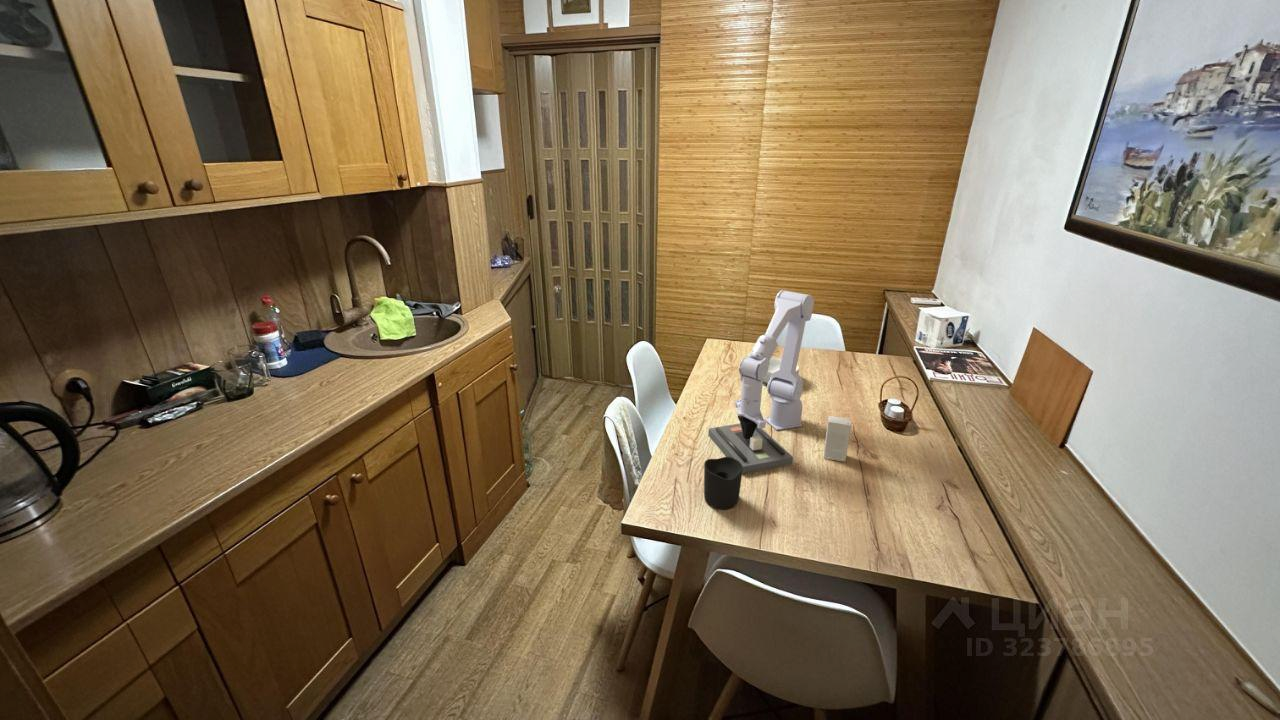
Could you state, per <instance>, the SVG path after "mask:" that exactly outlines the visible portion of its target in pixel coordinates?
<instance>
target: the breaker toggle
mask: <svg viewBox="0 0 1280 720" xmlns="http://www.w3.org/2000/svg"><path fill="white" fill-rule="evenodd" d="M762 441H763V439H762V438H761V437H760V436H756V437H750V448H751V449H752V450H759V449H762Z"/></svg>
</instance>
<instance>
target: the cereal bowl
mask: <svg viewBox="0 0 1280 720" xmlns="http://www.w3.org/2000/svg"><path fill="white" fill-rule="evenodd" d="M781 359H782V358H779V357H777V358H776V357H771V359H770V361H769V362H770V365H769V368H768V372H767V375H766V376H765V378H764V379H763V383H765V384H767V385H768V382H769V380H770V377H771V374H772V373H773V372H774V371H776V370H779V369H780V364H781ZM796 372H797V373H798V374H799V372H800V366H799V365H798V364H797V367H796Z"/></svg>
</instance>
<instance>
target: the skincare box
mask: <svg viewBox="0 0 1280 720" xmlns="http://www.w3.org/2000/svg"><path fill="white" fill-rule="evenodd" d="M851 428H852V423H851V418H847V417H840V416H833V415H832V416H831V415H828V418H827V425H826V434H825V440H824V441H825V442H824V447H823V459H827V460H832V461H840V462H846V460H847V454H848V448H849V442H850V436H851V430H852V429H851Z"/></svg>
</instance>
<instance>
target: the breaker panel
mask: <svg viewBox="0 0 1280 720" xmlns="http://www.w3.org/2000/svg"><path fill="white" fill-rule="evenodd" d="M756 436H760V437H761V438H762V439H763V441H762V449H759V450H752V449H751V448H750V439H747V440H746V439H745V438H744V437H743V432H742V427H741V424H740V423H735V424H729V425H723V426H717V427H710V428H708V437H709V438H710V439H711V441H712V442H713V443H714V444H715V446H716V447H717V448H718V449H719V450H720V451H721V453H723V454H724V457H732V458H734V459H736V460H738V461H739V462H740V463H741V464H742V466H743V471H742V475H746V474H751V473H756V472H757V473H758V472H763V471H768V470H772V469H777V468H782V467H788V466H792V465H793V461H794V456H792V454H790V452H788V451H787V450H786V449H785V448H784V447H783V446H782V445H781V444H779V442H777V440H775V439H774V438H773V437H772V436H771V435H770V434H769V433H768V432H767V431H765V430H764V428H760V429H759V428H758V426H757V427H756V429H755V431H754V434H753V436H752V437H756Z"/></svg>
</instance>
